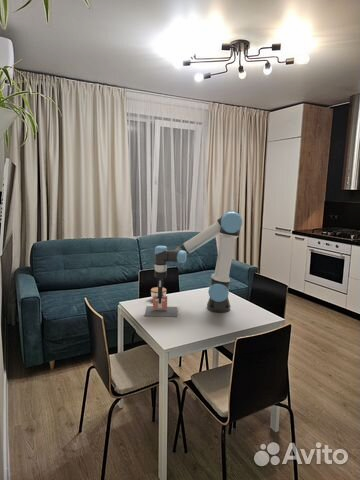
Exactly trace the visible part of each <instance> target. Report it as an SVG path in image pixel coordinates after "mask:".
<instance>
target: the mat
mask: <svg viewBox="0 0 360 480" xmlns="http://www.w3.org/2000/svg"><path fill="white" fill-rule="evenodd" d="M143 316H144V317H149V318H150V317H151V318H152V317H155V318H157V317H158V318H159V317H163V318H166V317H167V318H169V317H170V318H178V306H167V309H153V305H152V306H151V305H147V306H146V308H145V311H144V315H143Z"/></svg>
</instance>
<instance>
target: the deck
mask: <svg viewBox="0 0 360 480" xmlns="http://www.w3.org/2000/svg"><path fill="white" fill-rule="evenodd" d="M157 297H158V296H153V298H152V306H153V309H167V307H168V295H166V296H162V308H158V298H157Z"/></svg>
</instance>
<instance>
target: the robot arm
mask: <svg viewBox="0 0 360 480" xmlns="http://www.w3.org/2000/svg"><path fill="white" fill-rule="evenodd" d="M242 226H243V218H242V216H241V215H240V213H238V211H236V210H229V211H225V213H224V214H222V216H220V217H219V218H218V219H216V221H215V223H213V224H211V225H210V226H208V227H207V228H205V229H204V230H202V231H201V232H199V233H198V234H196V235H195V236H193V237H191V238H190V239H188V240H187V241H185V242H183V243H182V244H180V245H179V246H176V248H175V249H168V247H167V245H157V246H155V248H154V265H153V268H154V278H156V280H157V281H156V284H157V286H156V287H158V297H157V298H158V308H162V296H163V295H162V294H163V293H162V289H163V288H164V282H165V280H164V279H165V278H167V270H168V263H179V264H184V263H186V262H187V256H188V255H190V254H191V253H193V252H194V251H196V250H197V249H198V248H200V247H202V246H203V245H205V244H207V243H209V241H211V240H213V239H215V238H216V237H218V236H220V242H219V247H218V252H217V259H216V265H215V269H214V273H211V275H210V283H209V288H208V296H209V298H208V301H207V305H206V309H207V310H209V311H210V312H214V313H227V312H229V311H231V304H230V300H229V290H230V286H231V279H230V273H231V271H230V270H231V266H232V261H233V255H234V250H235V246H236V239H237V238H239V237H240V232H241V228H242Z"/></svg>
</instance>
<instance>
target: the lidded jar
mask: <svg viewBox="0 0 360 480" xmlns="http://www.w3.org/2000/svg"><path fill="white" fill-rule="evenodd" d="M162 293H163V294H162V295H163V296H167V288H165V287H163V289H162ZM150 295H151V296H150V297H151V298H152V299H153V296H158V287H157V286H156V287H152V288H151V289H150Z"/></svg>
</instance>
